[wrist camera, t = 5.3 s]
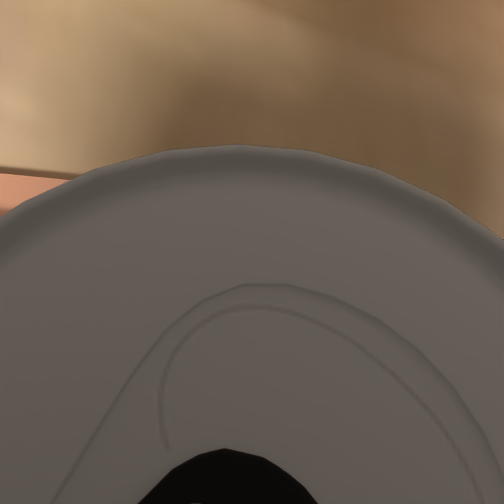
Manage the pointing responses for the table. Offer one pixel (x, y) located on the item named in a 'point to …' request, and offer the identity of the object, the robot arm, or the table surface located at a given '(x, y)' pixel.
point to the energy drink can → (249, 337)
